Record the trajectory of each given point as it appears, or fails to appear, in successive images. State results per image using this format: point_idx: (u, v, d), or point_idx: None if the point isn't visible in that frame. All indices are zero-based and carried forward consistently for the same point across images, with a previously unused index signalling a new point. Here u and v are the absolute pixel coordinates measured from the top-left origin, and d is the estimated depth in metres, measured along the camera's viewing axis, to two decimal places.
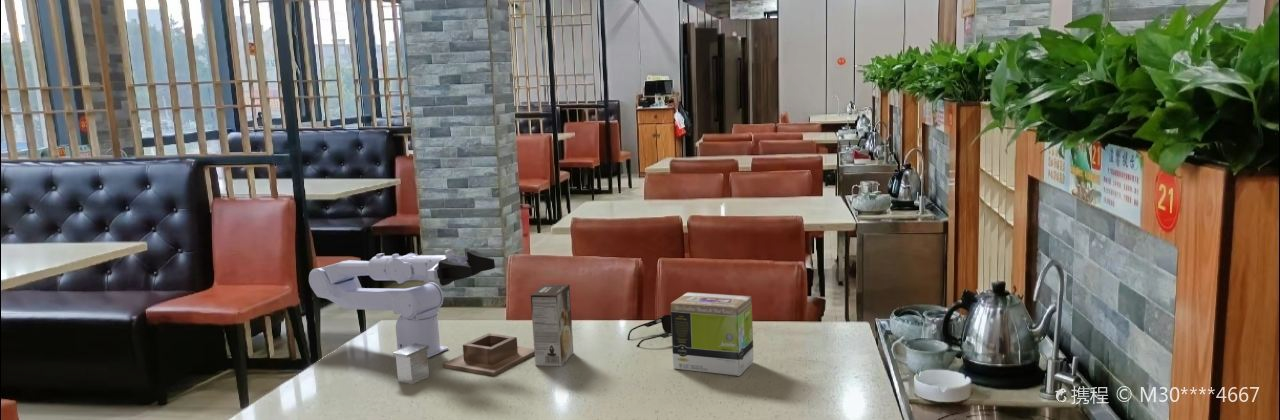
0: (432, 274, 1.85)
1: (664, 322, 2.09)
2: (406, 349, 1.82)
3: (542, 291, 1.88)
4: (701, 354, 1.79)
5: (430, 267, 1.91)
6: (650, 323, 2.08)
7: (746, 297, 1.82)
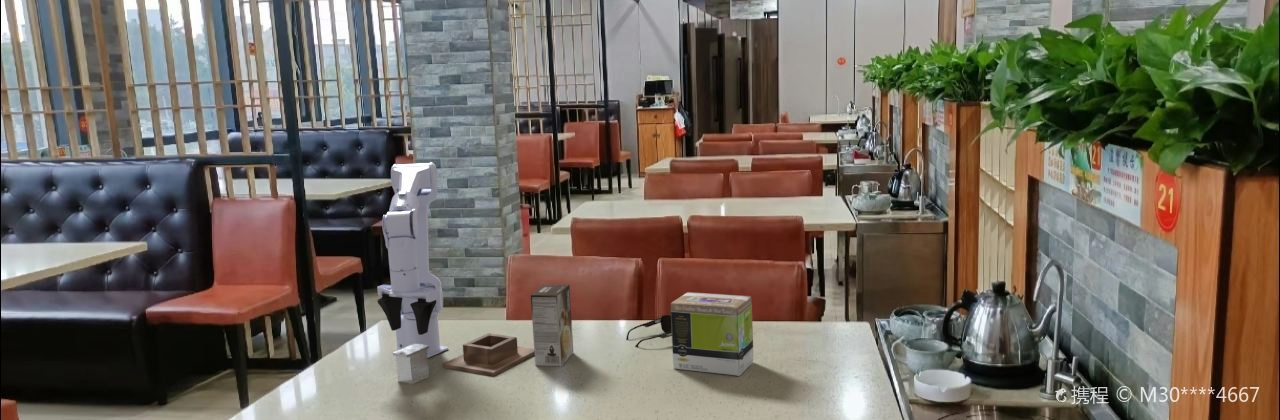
0: None
1: (663, 322, 2.09)
2: (406, 349, 1.82)
3: (542, 291, 1.88)
4: (701, 354, 1.79)
5: None
6: (649, 323, 2.08)
7: (746, 297, 1.82)
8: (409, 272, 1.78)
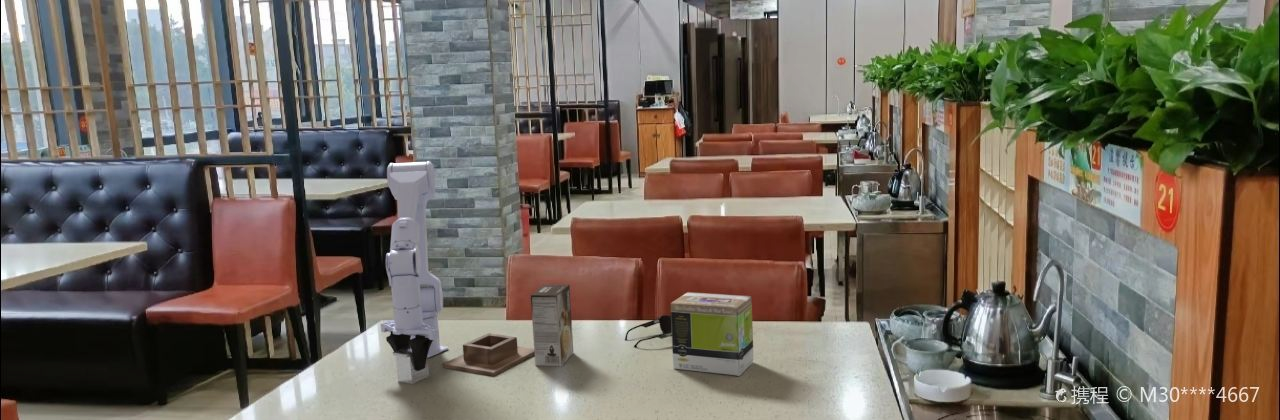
0: None
1: (662, 322, 2.09)
2: (406, 349, 1.82)
3: (542, 291, 1.88)
4: (701, 354, 1.79)
5: None
6: (648, 324, 2.08)
7: (746, 297, 1.82)
8: (412, 310, 1.79)
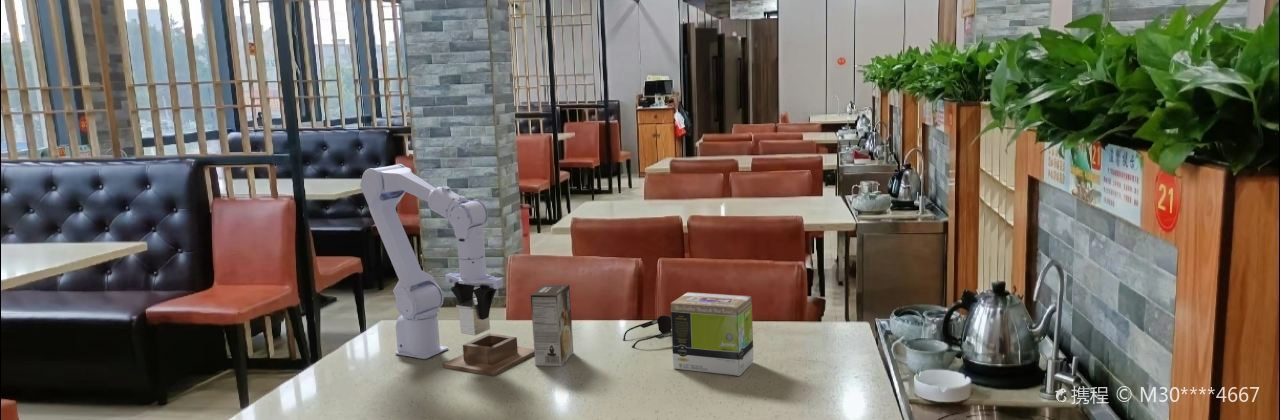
0: None
1: (660, 323, 2.08)
2: (469, 302, 1.89)
3: (542, 291, 1.88)
4: (701, 354, 1.79)
5: None
6: (646, 324, 2.07)
7: (746, 297, 1.82)
8: (477, 260, 1.86)
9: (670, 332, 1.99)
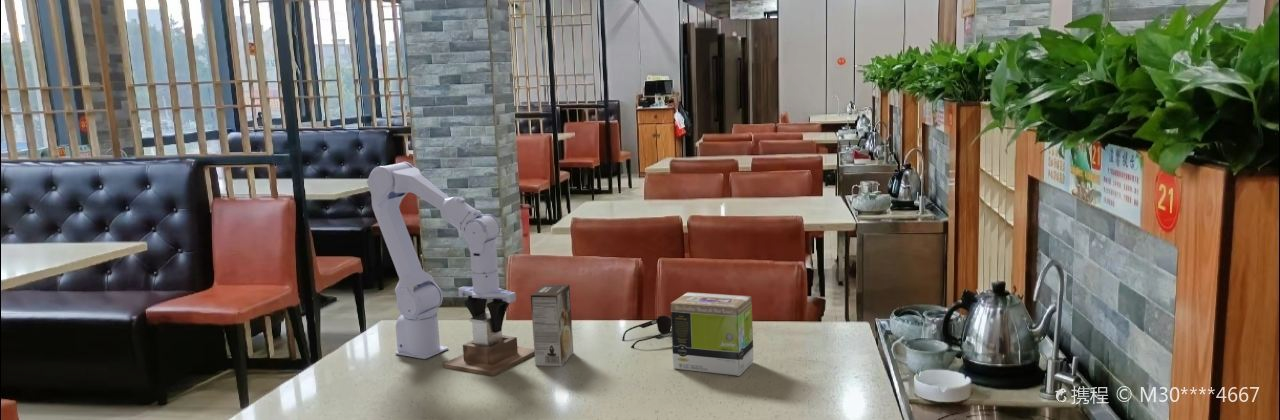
0: None
1: (659, 323, 2.08)
2: (482, 316, 1.91)
3: (542, 291, 1.88)
4: (701, 354, 1.79)
5: None
6: (645, 324, 2.07)
7: (746, 297, 1.82)
8: (491, 274, 1.88)
9: (669, 332, 1.99)
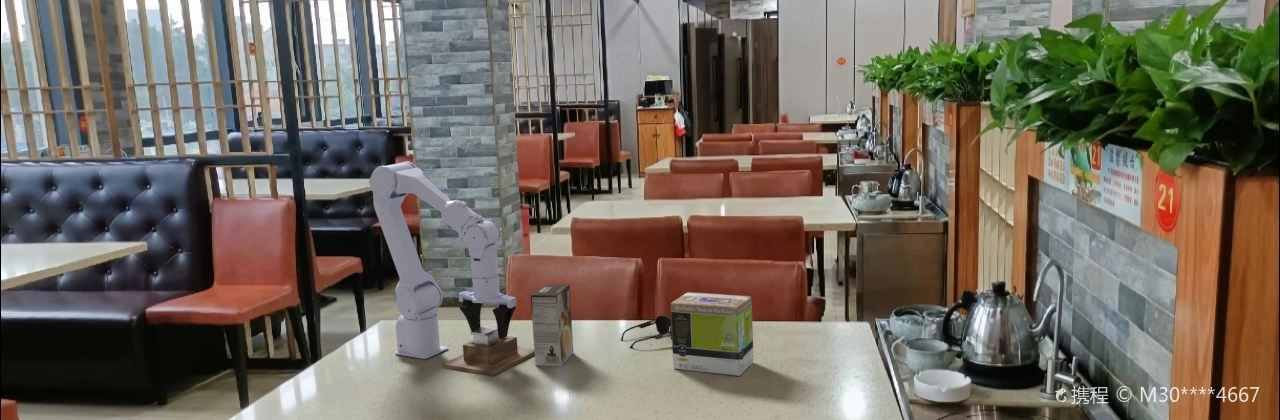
0: None
1: (658, 323, 2.08)
2: (483, 329, 1.92)
3: (542, 291, 1.88)
4: (701, 354, 1.79)
5: None
6: (644, 324, 2.07)
7: (746, 297, 1.82)
8: (491, 279, 1.88)
9: (668, 332, 1.99)
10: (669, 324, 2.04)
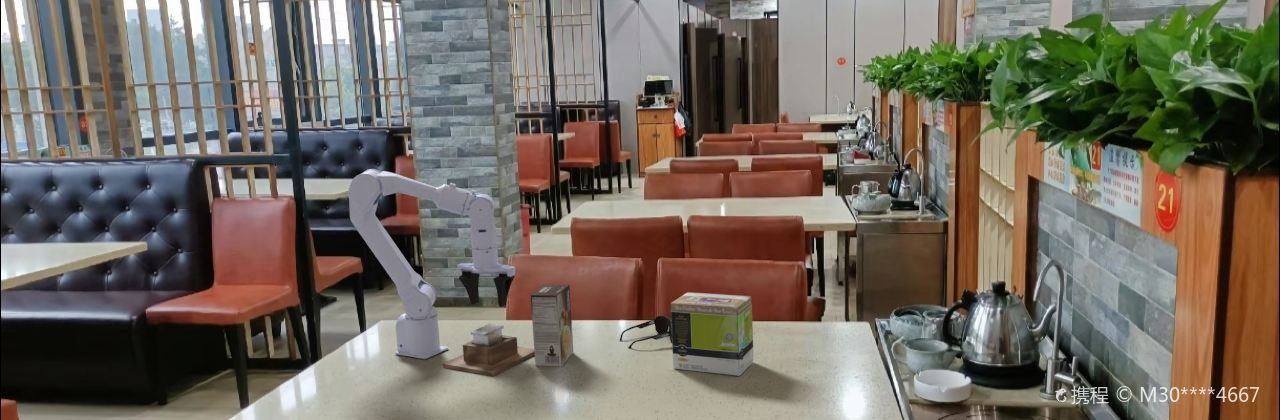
0: None
1: (657, 323, 2.08)
2: (483, 329, 1.92)
3: (542, 291, 1.88)
4: (701, 354, 1.79)
5: None
6: (643, 324, 2.07)
7: (746, 297, 1.82)
8: (491, 250, 1.96)
9: (666, 333, 1.98)
10: (668, 324, 2.04)
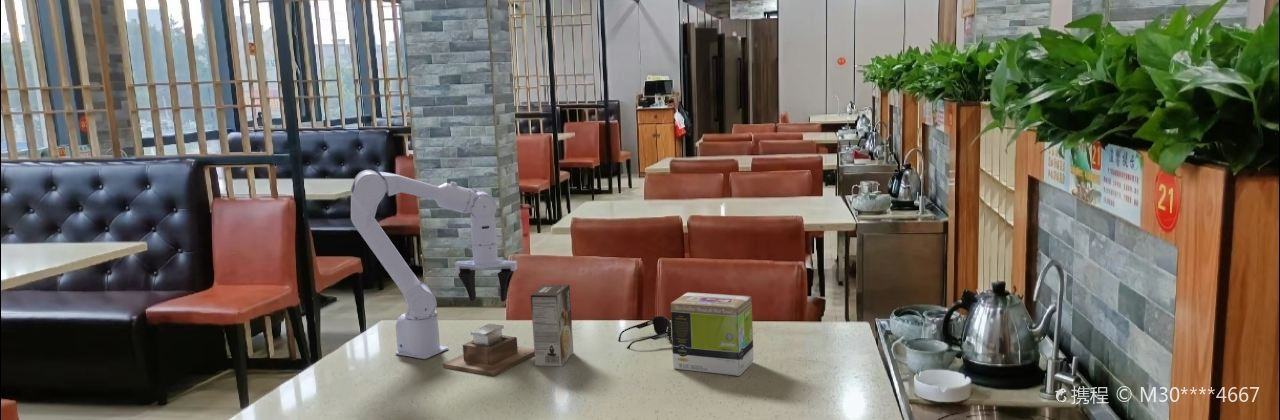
0: None
1: (655, 324, 2.08)
2: (483, 329, 1.92)
3: (542, 291, 1.88)
4: (701, 354, 1.79)
5: (472, 249, 2.02)
6: (641, 325, 2.07)
7: (746, 297, 1.82)
8: (493, 246, 2.01)
9: (665, 333, 1.98)
10: (666, 324, 2.04)
